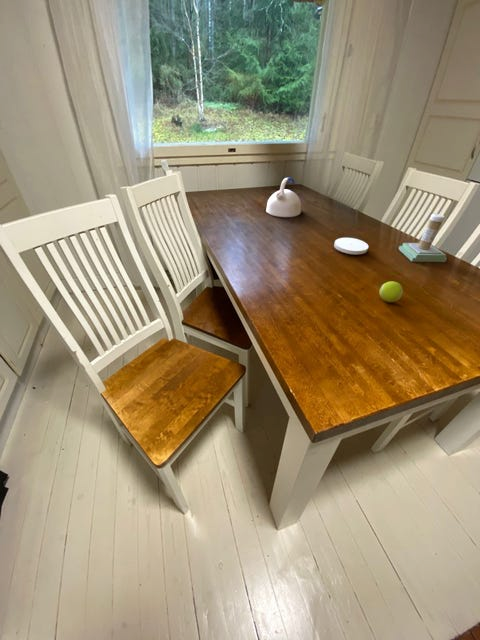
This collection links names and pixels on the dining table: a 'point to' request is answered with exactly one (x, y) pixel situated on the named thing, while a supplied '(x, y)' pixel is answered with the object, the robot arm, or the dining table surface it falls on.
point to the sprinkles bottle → (431, 231)
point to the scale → (416, 257)
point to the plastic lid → (351, 246)
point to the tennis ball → (391, 291)
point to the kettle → (284, 202)
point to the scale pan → (424, 251)
